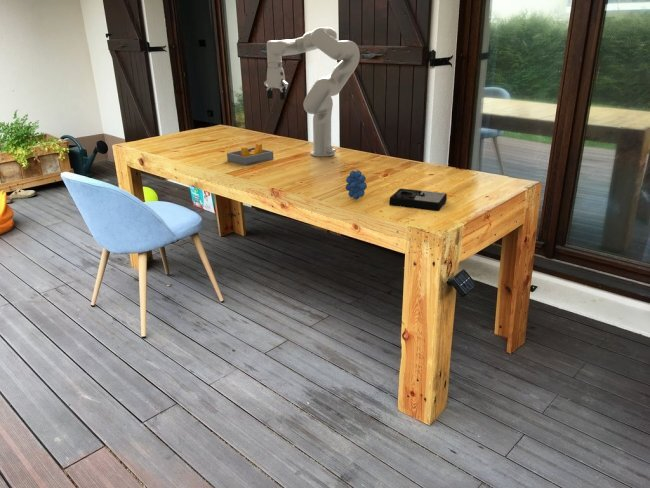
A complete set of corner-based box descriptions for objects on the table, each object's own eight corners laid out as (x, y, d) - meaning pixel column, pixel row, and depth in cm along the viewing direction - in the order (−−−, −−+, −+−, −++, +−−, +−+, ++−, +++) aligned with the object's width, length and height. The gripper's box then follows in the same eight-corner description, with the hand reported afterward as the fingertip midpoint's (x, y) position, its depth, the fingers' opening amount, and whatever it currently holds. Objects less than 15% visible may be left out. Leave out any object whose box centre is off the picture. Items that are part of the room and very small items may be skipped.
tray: (273, 159, 273) (273, 151, 271) (246, 165, 261) (245, 157, 259) (254, 154, 282) (254, 147, 281) (227, 160, 270) (226, 153, 269)
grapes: (374, 200, 206) (374, 170, 202) (360, 204, 203) (361, 173, 198) (354, 193, 215) (354, 165, 210) (341, 197, 211) (341, 167, 207)
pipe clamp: (256, 155, 276) (256, 143, 274) (262, 156, 274) (261, 144, 271) (239, 159, 268) (238, 147, 265) (245, 160, 265) (244, 148, 263)
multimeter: (398, 196, 212) (399, 184, 210) (446, 202, 205) (447, 189, 203) (388, 206, 201) (389, 193, 199) (439, 212, 194) (440, 199, 192)
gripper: (291, 65, 276) (293, 99, 282) (268, 64, 286) (270, 97, 293) (281, 66, 270) (283, 100, 277) (258, 65, 281) (260, 98, 287)
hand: (276, 98), depth 285 cm, fingers open, 9 cm apart
